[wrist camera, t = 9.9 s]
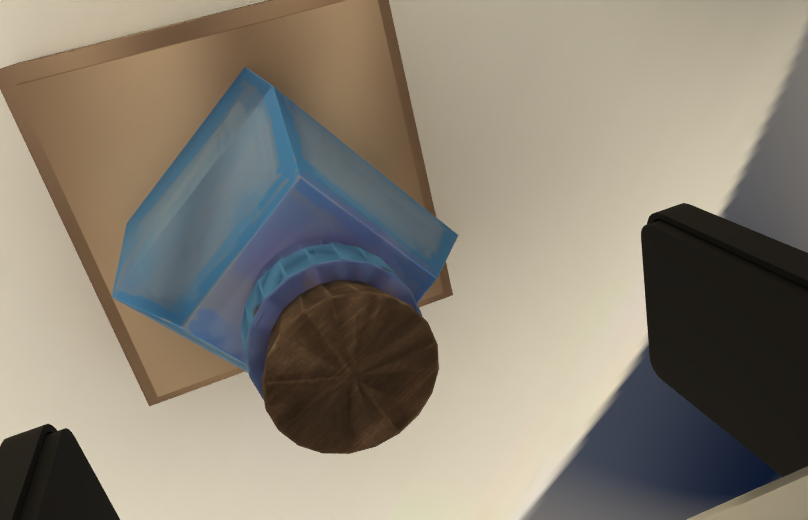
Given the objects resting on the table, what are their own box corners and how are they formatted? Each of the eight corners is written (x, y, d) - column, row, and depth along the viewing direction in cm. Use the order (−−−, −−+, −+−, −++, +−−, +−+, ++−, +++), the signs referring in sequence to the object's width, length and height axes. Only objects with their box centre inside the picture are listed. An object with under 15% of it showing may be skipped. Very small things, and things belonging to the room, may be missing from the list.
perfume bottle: (283, 319, 24) (375, 567, 13) (126, 223, 21) (82, 438, 10) (390, 183, 23) (575, 325, 13) (245, 66, 21) (326, 122, 10)
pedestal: (355, -22, 25) (386, -28, 21) (422, 265, 29) (457, 299, 26) (16, 63, 22) (-12, 72, 19) (151, 361, 27) (148, 413, 23)
